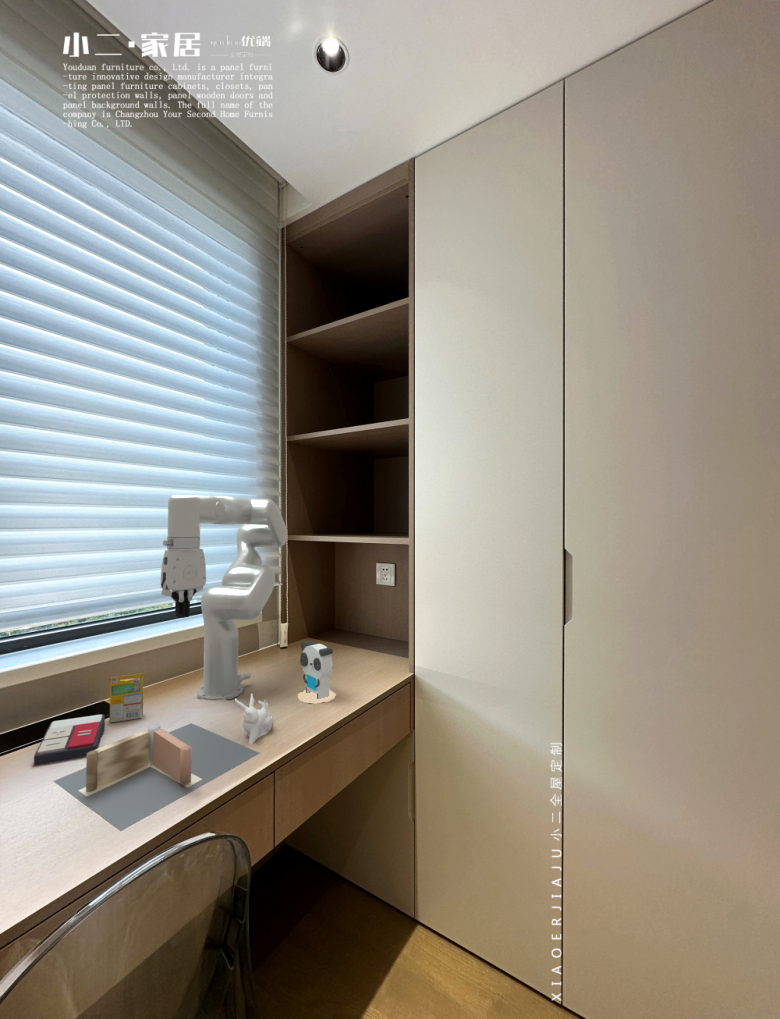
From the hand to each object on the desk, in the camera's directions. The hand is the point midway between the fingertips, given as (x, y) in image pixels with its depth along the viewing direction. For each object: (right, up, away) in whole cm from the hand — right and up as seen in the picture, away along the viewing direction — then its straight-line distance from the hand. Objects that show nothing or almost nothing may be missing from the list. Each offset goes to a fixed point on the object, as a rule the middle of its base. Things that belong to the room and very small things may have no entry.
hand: (182, 616), depth 117 cm
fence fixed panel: (-2, -26, -24) cm, 36 cm away
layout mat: (+5, -27, -20) cm, 34 cm away
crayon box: (-16, -27, +3) cm, 31 cm away
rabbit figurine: (+19, -28, -5) cm, 34 cm away
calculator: (-20, -27, -12) cm, 36 cm away
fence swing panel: (+7, -26, -22) cm, 35 cm away
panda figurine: (+31, -28, +19) cm, 46 cm away
